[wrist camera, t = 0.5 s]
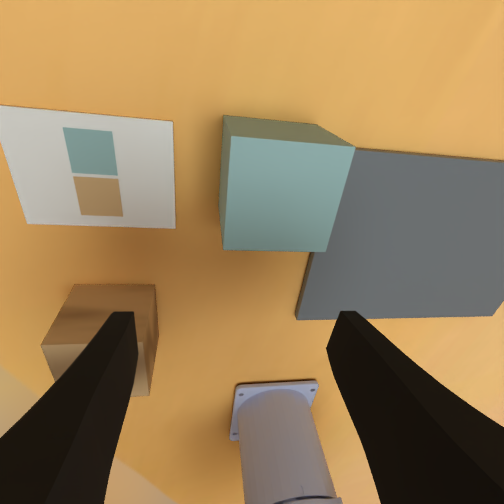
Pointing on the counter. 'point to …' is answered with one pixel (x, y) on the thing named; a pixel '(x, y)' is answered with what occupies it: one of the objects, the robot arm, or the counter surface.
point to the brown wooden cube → (91, 320)
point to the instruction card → (90, 167)
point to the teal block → (280, 184)
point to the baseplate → (411, 240)
